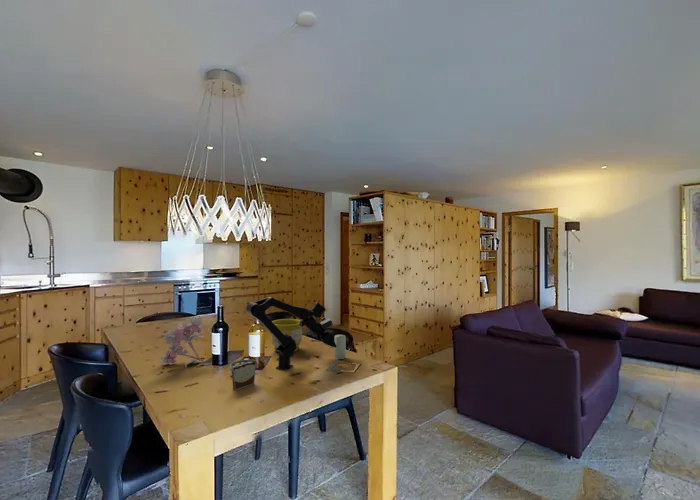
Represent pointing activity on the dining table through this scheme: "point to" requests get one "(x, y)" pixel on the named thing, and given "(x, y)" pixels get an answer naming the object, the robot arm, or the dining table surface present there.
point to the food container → (243, 373)
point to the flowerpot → (288, 331)
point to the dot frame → (333, 366)
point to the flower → (178, 336)
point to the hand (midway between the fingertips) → (332, 344)
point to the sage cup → (340, 347)
